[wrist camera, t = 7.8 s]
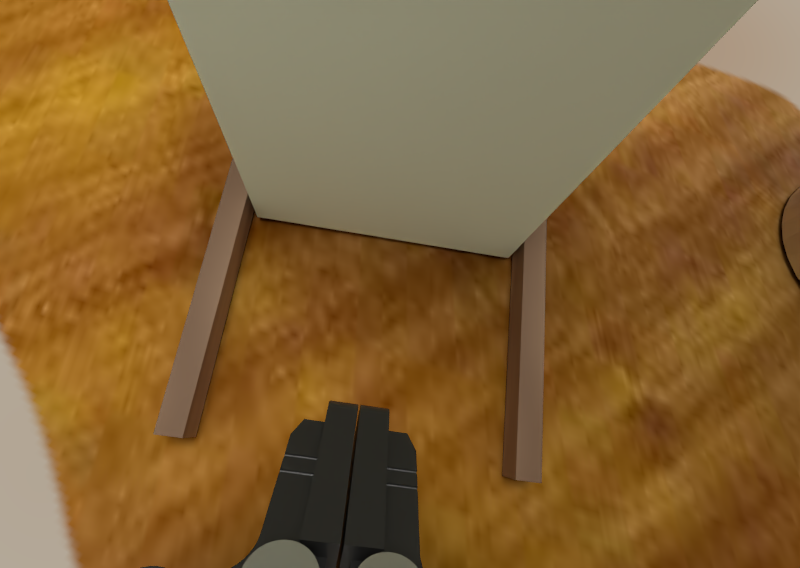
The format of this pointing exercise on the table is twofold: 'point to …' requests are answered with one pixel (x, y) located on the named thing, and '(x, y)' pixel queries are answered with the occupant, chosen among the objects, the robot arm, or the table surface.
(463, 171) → the hood
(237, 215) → the rails
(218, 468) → the table surface
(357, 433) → the robot arm
